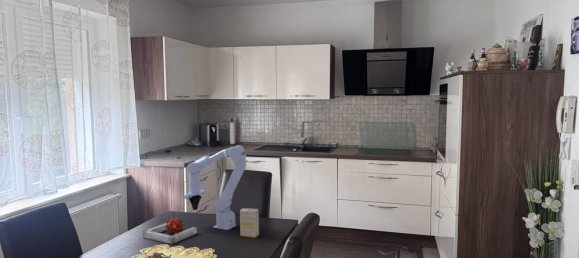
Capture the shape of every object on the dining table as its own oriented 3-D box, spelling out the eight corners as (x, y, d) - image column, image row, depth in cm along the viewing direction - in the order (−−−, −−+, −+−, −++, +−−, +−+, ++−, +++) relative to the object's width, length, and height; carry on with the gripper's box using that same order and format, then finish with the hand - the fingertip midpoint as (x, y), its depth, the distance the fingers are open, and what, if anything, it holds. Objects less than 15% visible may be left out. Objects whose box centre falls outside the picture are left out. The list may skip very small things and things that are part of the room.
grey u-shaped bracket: (196, 233, 193) (196, 227, 193) (171, 244, 178) (171, 237, 178) (169, 227, 202) (168, 222, 202) (142, 237, 187) (142, 231, 187)
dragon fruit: (177, 232, 199) (175, 243, 188) (163, 224, 197) (160, 235, 185) (187, 219, 199) (185, 230, 187) (173, 211, 196) (170, 221, 185)
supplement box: (259, 234, 190) (259, 208, 189) (255, 238, 186) (255, 211, 185) (244, 233, 193) (243, 207, 192) (239, 236, 188) (239, 210, 188)
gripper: (198, 181, 213) (198, 205, 214) (179, 186, 200) (179, 211, 201) (208, 182, 210) (208, 206, 211) (189, 187, 197) (190, 213, 198)
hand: (195, 209), depth 206 cm, fingers closed
